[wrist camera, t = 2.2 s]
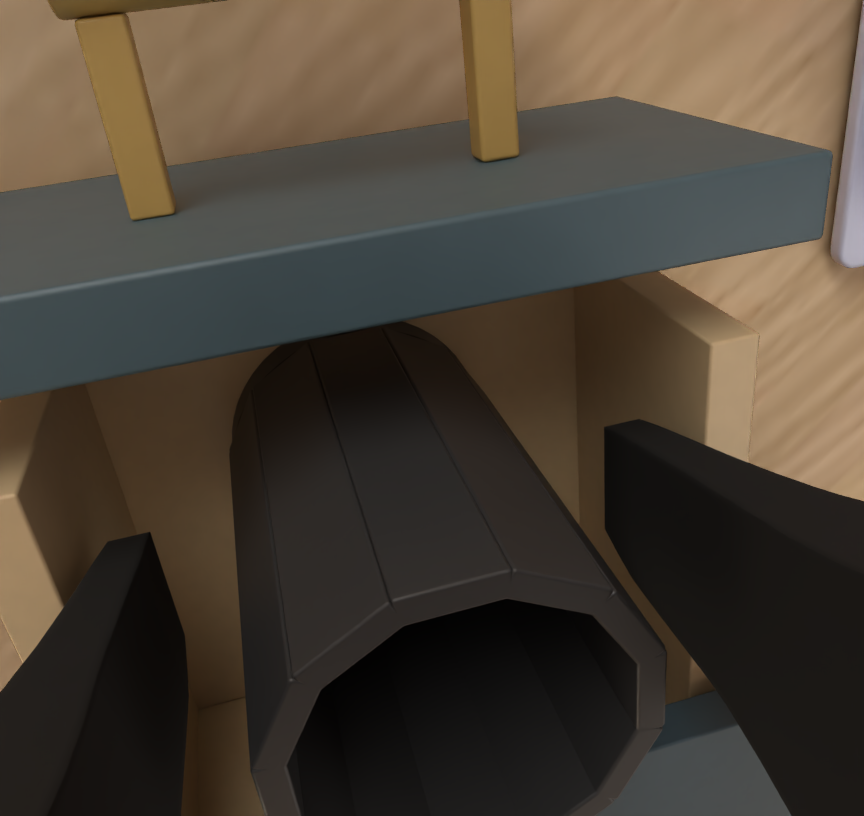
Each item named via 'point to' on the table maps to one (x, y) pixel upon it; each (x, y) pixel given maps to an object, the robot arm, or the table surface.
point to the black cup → (422, 599)
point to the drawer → (358, 321)
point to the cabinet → (699, 768)
